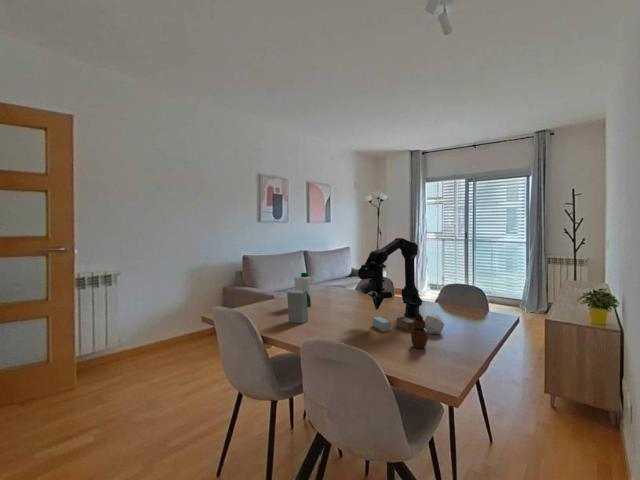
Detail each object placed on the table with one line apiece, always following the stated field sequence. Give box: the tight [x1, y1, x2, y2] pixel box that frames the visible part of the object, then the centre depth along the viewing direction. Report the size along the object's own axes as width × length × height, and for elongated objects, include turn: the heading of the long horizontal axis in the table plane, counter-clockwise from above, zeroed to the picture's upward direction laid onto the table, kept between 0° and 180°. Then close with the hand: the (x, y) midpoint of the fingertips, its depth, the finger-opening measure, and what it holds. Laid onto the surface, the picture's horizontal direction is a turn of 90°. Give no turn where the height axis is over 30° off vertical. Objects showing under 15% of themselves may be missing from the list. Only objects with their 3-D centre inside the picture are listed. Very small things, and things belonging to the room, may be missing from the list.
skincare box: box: [286, 289, 309, 324], centre depth 174 cm, size 8×7×16 cm
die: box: [424, 315, 445, 335], centre depth 155 cm, size 8×9×10 cm
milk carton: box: [293, 272, 312, 308], centre depth 205 cm, size 9×9×20 cm
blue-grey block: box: [372, 316, 391, 332], centre depth 163 cm, size 4×4×10 cm
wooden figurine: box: [410, 309, 428, 349], centre depth 138 cm, size 7×6×15 cm
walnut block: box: [396, 316, 414, 332], centre depth 163 cm, size 4×4×10 cm
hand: (376, 309), depth 167 cm, fingers closed
